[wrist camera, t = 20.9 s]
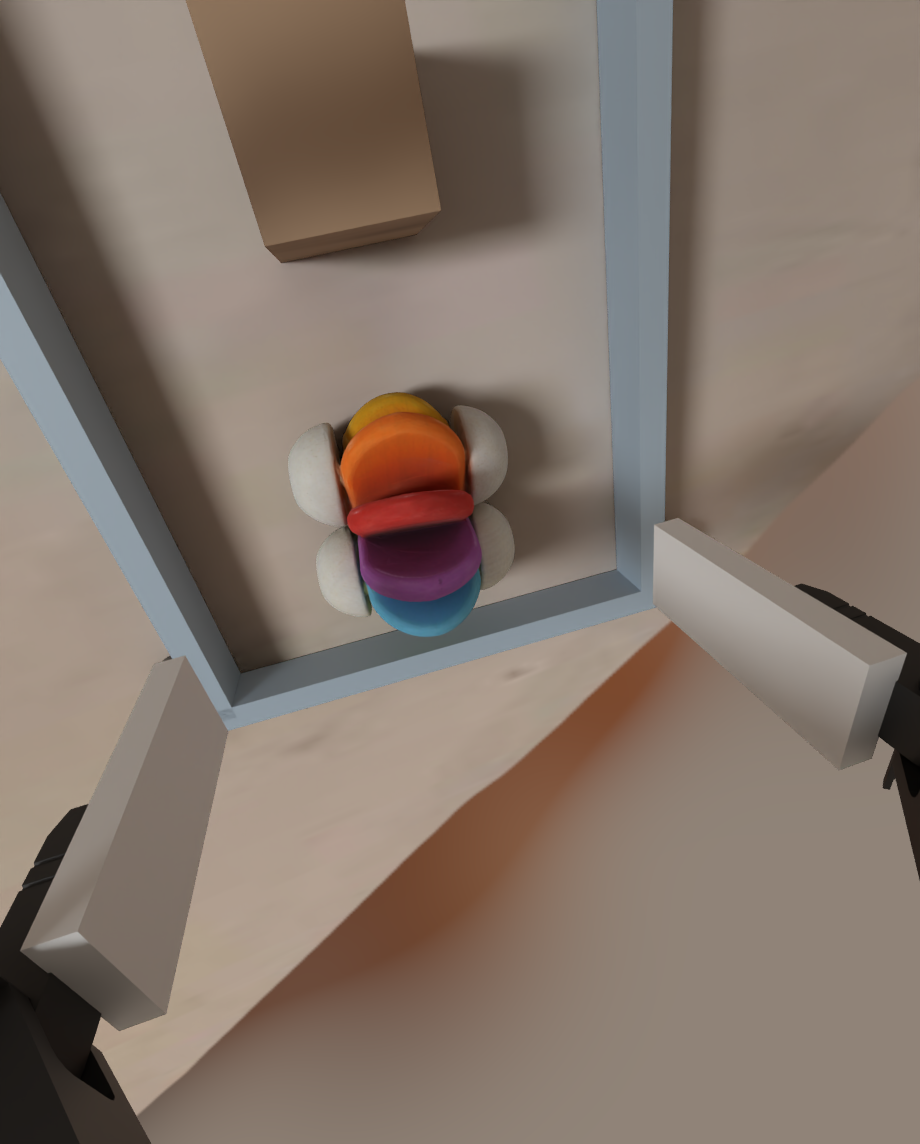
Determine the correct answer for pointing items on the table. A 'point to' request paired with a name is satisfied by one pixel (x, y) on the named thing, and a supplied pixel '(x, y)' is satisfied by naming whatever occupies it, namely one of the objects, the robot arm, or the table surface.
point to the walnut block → (322, 119)
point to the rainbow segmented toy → (406, 511)
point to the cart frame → (638, 411)
